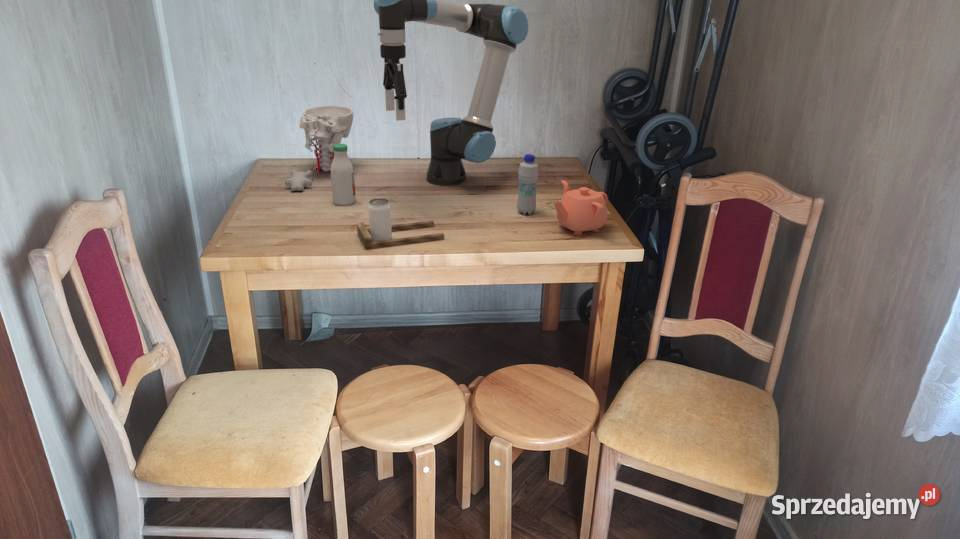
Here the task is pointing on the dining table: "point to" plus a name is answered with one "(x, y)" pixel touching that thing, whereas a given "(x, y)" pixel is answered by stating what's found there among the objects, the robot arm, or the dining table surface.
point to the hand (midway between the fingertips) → (395, 115)
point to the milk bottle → (342, 177)
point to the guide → (368, 244)
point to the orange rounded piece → (581, 209)
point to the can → (380, 219)
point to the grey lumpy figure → (299, 180)
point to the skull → (326, 131)
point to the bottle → (527, 185)
